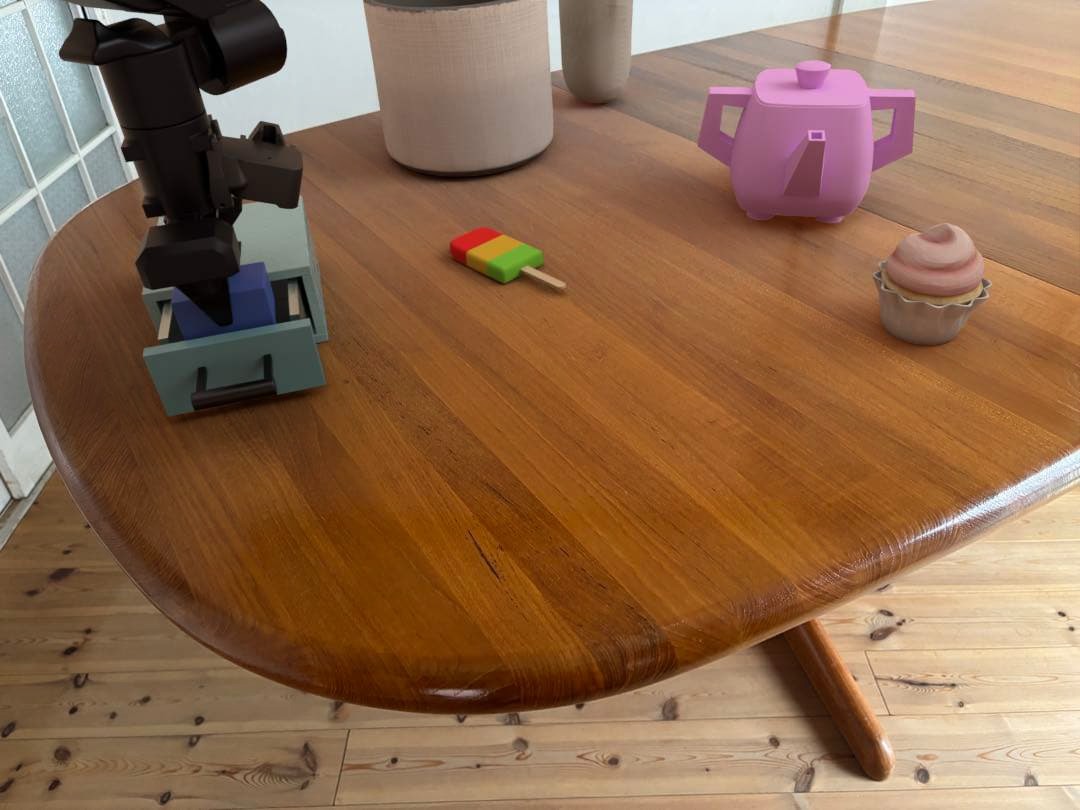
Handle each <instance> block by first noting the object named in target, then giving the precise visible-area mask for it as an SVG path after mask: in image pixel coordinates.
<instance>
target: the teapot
mask: <svg viewBox="0 0 1080 810" xmlns="http://www.w3.org/2000/svg"><path fill="white" fill-rule="evenodd" d="M916 100H917V97H916V93H915V90H914V89H900V88H899V89H897V88H896V89H894V88H893V89H889V88H887V89H883V88H881V89H879V88H869V87H868V85H867V83H866V81H865V80H864V78H863V77H862V76H861V74H860V73H858V72H857V71H854V70H853V69H843V68H841V69H840V68H832V64H830V63H828V62H826V61H823V60H816V59H811V60H810V59H809V60H802V61H799V62H796V64H795V68H792V67H791V68H766V69H764V70H762V71H761V72H760V73H759V74H758V75H757V76H756V77H755V80H754V83H753V84H752V87H749V86H709V90H708V93H707V97H706V103H705V107H704V111H703V115H702V120H701V123H700V124H701V125H700V129H699V133H698V138H697V148H698V149H700V150H702V151H703V152H705V153H706V154H708V155H710V156H711V157H712V158H714V159H715V160H717V161H718V162H720V163H721V164H723V165H725V166H726V167H728V172H729V179H730V182H731V186H732V189H733V193H734V196H735V198H736V201H737V203H738V205H739V206H740V208H741V209H742V210H744V211H745V212H746V216H747V217H748V218H750V219H752V220H759V221H763V220H764V221H766V220H770V219H772V218H774V216H787V217H788V216H789V217H792V216H793V217H812V218H813V217H814V219H815V220H816V221H818V222H820V223H824V224H836V223H840V222H841V221H842V220H843V217H847V216H850V215H852V214H853V213H854V212H855V210H856V209H857V208H858V207H859V206H860V204H861V203H862V201H863V199H864V197H865V195H866V193H867V191H868V189H869V187H870V182H871V177H872V173H874V172H875V171H877V170H880V169H882V168H884V167H886V166H888V165H890V164H892V163H894V162H896V161H898V160H900V159H902V158H904V157H906V156H909V155H910V154H913V147H914V134H915V131H914V130H915V117H916ZM724 106H727V107H734V108H743V109H742V111H741V114H740V117H739V119H738V122H737V126H736V129H735V132H734V136H733V137H732V136H731V135H729V134H727V133H725V132H724V131H722V130H721V125H722V124H721V123H722V117H723V109H724ZM883 110H893V113H892V118H891V119H892V120H891V126H890V132H889V134H887V135H885V136H883V137H881V138H878V139H876V140H875V133H874V120H873V119H874V118H873V111H883Z"/></svg>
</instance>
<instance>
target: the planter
mask: <svg viewBox="0 0 1080 810" xmlns="http://www.w3.org/2000/svg"><path fill="white" fill-rule="evenodd" d="M362 4H363V9H364V16H365V17H364V18H365V22H366V29H367V33H368V34H367V35H368V41H369V46H370V53H371V59H372V66H373V72H374V79H375V85H376V92H377V99H378V107H379V112H380V119H381V125H382V130H383V138H384V143H385V146H386V149H387V152H388V155H389V156H390V158H391V159H393V160H394V161H396V162H397V163H398V164H400V165H401V166H403V167H405V168H407V169H409V170H411V171H414V172H417V173H421V174H425V175H429V176H435V177H436V176H437V177H447V178H464V177H478V176H485V175H490V174H497V173H502V172H506V171H509V170H511V169H515V168H518V167H521V166H523V165H525V164H527V163H529V162H531V161H532V160H534V159H535V158H537V157H539V156H540V155H541V154H542V153H543V152H544V151H546V150H547V148H548V147H550V145H551V143H552V142H553V139H554V124H555V123H554V105H553V90H552V89H553V87H552V72H551V71H552V70H551V54H550V38H549V37H550V36H549V19H548V17H549V16H548V15H549V14H548V0H362Z"/></svg>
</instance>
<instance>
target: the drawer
mask: <svg viewBox="0 0 1080 810" xmlns="http://www.w3.org/2000/svg"><path fill="white" fill-rule="evenodd" d="M270 284H271V288H272V291H273V295H274V298H275V321H276V324H274V325H269V326H263V327H258V328H252V329H247V330H241V331H236V332H230V333H225V334H220V335H214V336H209V337H203V338H198V339H192V340H187V341H185V340H184V337H183V335H182V332H181V329H180V327H179V324H178V322H177V319H176V316H175V314H174V311H173V308H172V306H171V300H172V299H167V300H165V301H164V307H163V312H162V318H161V324H160V329H159V335H158V334H157V341H158V344H159V345H155V346H149V347H144V348H143V353H142V359H143V361H144V364H145V365H146V368H147V370H148V373H149V375H150V377H151V380H152V382H153V385H154V386H155V390H156V392H157V394H158V397H159V398H160V400H161V404H162V405H163V409H164V410H165V412H166V415H167V417H172V416H173V417H174V416H178V415H183V414H188V413H193V412H198V411H203V410H208V409H212V408H213V409H214V408H219V407H225V406H229V405H234V404H239V403H243V402H248V401H254V400H258V399H264V398H270V397H273V396H278V395H283V394H288V393H293V392H298V391H303V390H309V389H314V388H319V387H324V386H327V381H326V375H325V371H324V367H323V363H322V360H321V357H320V353H319V348H318V345H317V344H318V343H316V340H315V337H314V333H313V329H312V325H311V322H310V319H309V315H308V306H307V297H306V294H305V290H304V286H303V282H302V278H301V276H299V277H293V278H288V279H282V280H276V281H270Z"/></svg>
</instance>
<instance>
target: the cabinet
mask: <svg viewBox="0 0 1080 810" xmlns="http://www.w3.org/2000/svg"><path fill="white" fill-rule="evenodd" d="M163 220H164V216H159V217H158V220H157V224H156V226H160V225H165V223H164V222H163ZM233 227H234V231H235V234H236V237H237V241H241V257H240V265H245V264H251V263H257V262H264V264H265V267H266V270H267V274H268V277H269V281H276V280H282V279H288V278H293V277H299V276H301V278H302V282H303V286H304V290H305V294H306V297H307V306H308V315H309V319H310V322H311V325H312V329H313V333H314V337H315V340H316V344H319V343H320V344H321V343H325V342H329V339H330V338H329V332H328V324H327V316H326V309H325V308H326V307H325V302H324V301H325V300H324V295H323V287H322V278H321V272H320V271H321V270H320V264H319V259H318V255H317V251H316V247H315V243H314V239H313V235H312V231H311V227H310V223H309V219H308V215H307V211H306V207H305V203H304V199H303V196H302V195H299V202H298V207H297V208H295V209H283V208H279V207H278V206H277V205H275V204H268V203H262V202H256V201H254V202H249V203H242V212H241V214H240V215H239V217H238V218H237V220H236V221H235V223H234V224H233ZM141 291H142V292H141V297H142V299H143V302H144V304H145V308H146V310H147V312H148V314H149V316H150V319H151V322H152V324H153V326H154V329H155V331H156V334H157V336H158V335H159V329H160V324H161V318H162V312H163V307H164V301H165V300H167V299H172V293H173V287H168V288H162V289H157V290H150V289H147V288H144V285H142V290H141Z"/></svg>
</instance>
